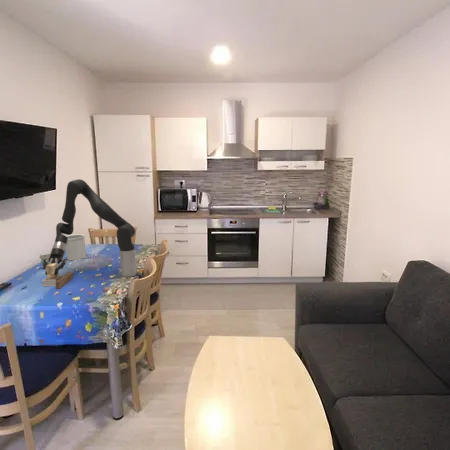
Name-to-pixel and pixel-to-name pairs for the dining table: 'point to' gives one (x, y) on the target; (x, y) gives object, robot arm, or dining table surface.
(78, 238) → the utensil holder
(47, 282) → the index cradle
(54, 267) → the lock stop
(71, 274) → the rail
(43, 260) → the food container
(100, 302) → the dining table surface
